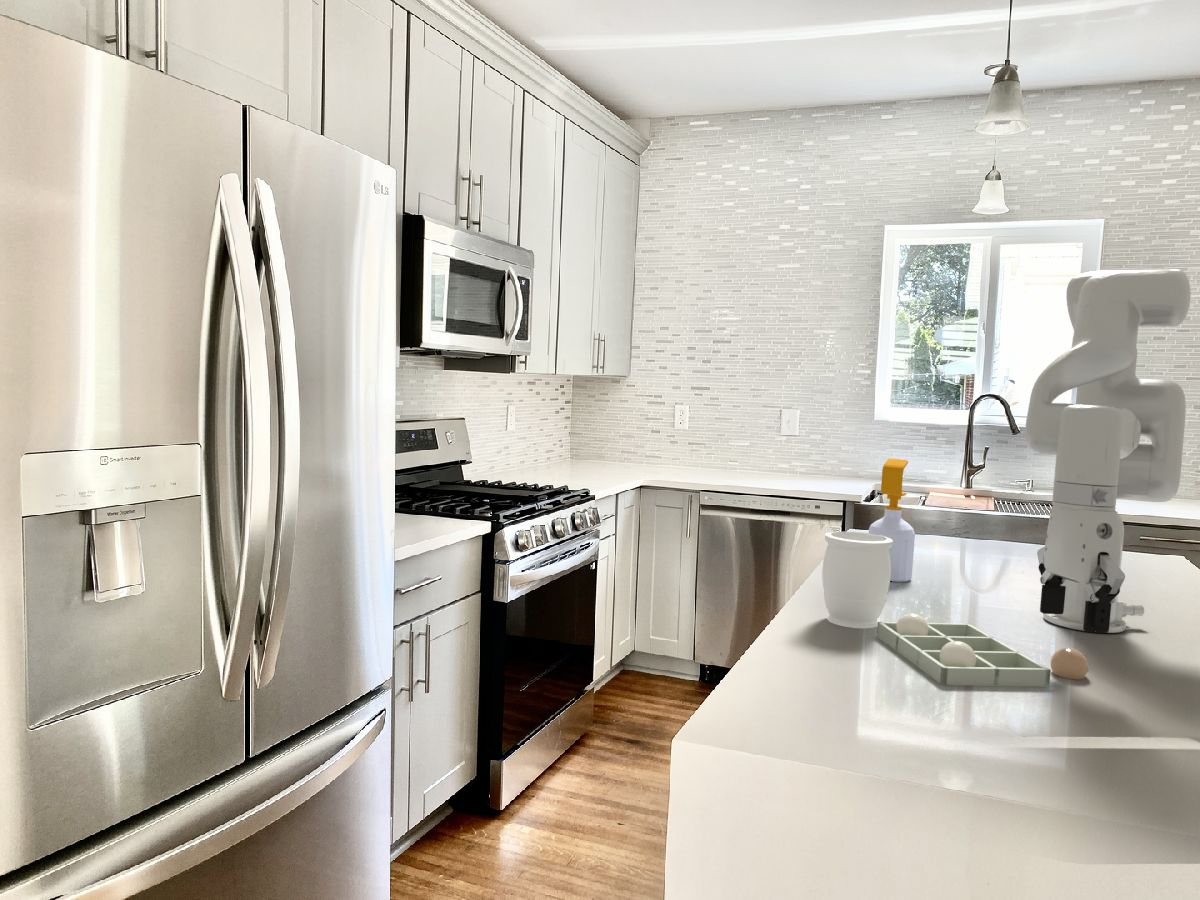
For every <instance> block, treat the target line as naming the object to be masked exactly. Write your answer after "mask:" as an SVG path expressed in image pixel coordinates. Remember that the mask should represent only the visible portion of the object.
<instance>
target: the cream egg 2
mask: <svg viewBox="0 0 1200 900" xmlns="http://www.w3.org/2000/svg"><path fill="white" fill-rule="evenodd" d="M939 660H940V663H941V664H943V665H944V666H946V667H975V665H976V655H975V653H974V651H973V649H972V648H971V647H970V646H969V645H967V644H966V643H964V642H961V641H952V642H949V643H947V644H945V645H944V646H943V647H942V649H941V651H940V654H939Z"/></svg>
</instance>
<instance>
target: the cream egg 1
mask: <svg viewBox="0 0 1200 900" xmlns="http://www.w3.org/2000/svg"><path fill="white" fill-rule="evenodd" d="M927 623H928V622H927V620H926V619H925V618H924V616H922V615H920V614H917V613H915V612H914V613H913V612H911V613H910V612H908V613H905V614H903V615H901V616H900V618H899V619H898V620H897V625H896V631H897V633H898V634H900V635H911V636H928V632H929V627H928V624H927Z"/></svg>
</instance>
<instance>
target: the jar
mask: <svg viewBox="0 0 1200 900" xmlns="http://www.w3.org/2000/svg"><path fill="white" fill-rule="evenodd" d="M824 540H825V541H826V543H827V545H826V546H827V547H826V549H825V552H824V556H823V561H822V569H821V570H822V571H821V572H822V575H821V576H822V578H821V579H822V587H823V599H824V604H825V608H826V610H827V613H828V614H829V615H828V616H827V618H826V619H827V621H828V622H830V623H831V624H834V625H837V626H842V627H846V628H850V629H851V628H852V629H873V628H877V626H878V622H879V621H878V619H879V618H880V617H881V615H882V612H883V611H884V608H885V606H886V601H887V597H888V596H887V595H888V594H889V593H888V592H889V589H890V584H891V582H890V577H891V563H890V555H889V551H888V550H889V548H890V547H891V546H892V544H893V540H892V539H891V538H888V537H884V536H880V535H875V534H869V532H859V531H831V532H826V533H825V535H824Z"/></svg>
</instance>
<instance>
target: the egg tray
mask: <svg viewBox="0 0 1200 900" xmlns="http://www.w3.org/2000/svg"><path fill="white" fill-rule="evenodd" d="M877 622H878V626H877V627H876V628H877V629H876V637H877V638H878V639H880V640H881V641H883V642H884V643H885V644H886V645H888V646H889V647H891V648H892V649H893V650H894V651H896V652H897V653H898V654H900V655H901V656H902V657H904V658H905V659H906V660H908V661H909V662H911V664H914V665H915V666H916V667H917V668H919V669H920V670H922V672H924V673H926V674H927V675H928V676H929V677H931V678H932V679H934V680H935V681H936V682H938V683H939V684H941V686H979V687H981V686H985V687H987V686H989V687H1048V688H1049V687H1050V682H1051V673H1052V672H1051V671H1052V669H1051V668H1048V667H1046V666H1045V665H1043V664H1041V663H1039V662H1038V661H1036V660H1034V659H1033V658H1030V657H1029V656H1027V655H1025V654H1023V653H1021V652H1019V650H1016V649H1015V648H1013V647H1011V646H1009V645H1007V644H1006V643H1004V642H1002V641H1000V640H999V639H997V638H995V637H993V636H991V635H990V634H987V632H984V631H982V630H981V629H979V628H978V627H976V626H973V625H972V624H970V623H949V622H947V623H946V622H945V623H944V622H942V623H941V622H927V624H928V627H929V632H928V636H911V635H900V634H898V633H897V631H896V625H897V622H898V621H897V622H895V621H892V622H891V621H877ZM952 641H961V642H964V643H966V644H967V645H969V646H970V647H971V648H972V649H973V651H974V653H975V655H976V665H975V667H946V666H944V665H943V664H941V663H940V660H939V654H940V651H941V649H942V647H943V646H944V645H945V644H947V643H949V642H952Z"/></svg>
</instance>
